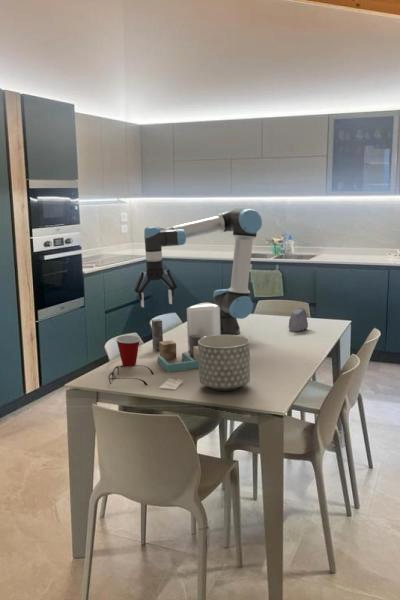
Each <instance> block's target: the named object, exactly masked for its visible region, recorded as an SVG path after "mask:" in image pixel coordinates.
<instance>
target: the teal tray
mask: <svg viewBox="0 0 400 600" xmlns="http://www.w3.org/2000/svg"><path fill="white" fill-rule="evenodd" d="M181 357H182V358H181V360H183V362H182V361H181V362H173V363H169V362H168V361H167V360H165V359H164V358H162V357H161V356H160V355H157V363H158V364H159V366H161V367H162V368H163V369H164V370H165V371H166V372H168V373H171V372H178V371H185V370H186V371H187V370H193V369H199V360H194V359H193V358H191V357H190V354H189V355H188V354H187V353H186V352H181Z"/></svg>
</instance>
